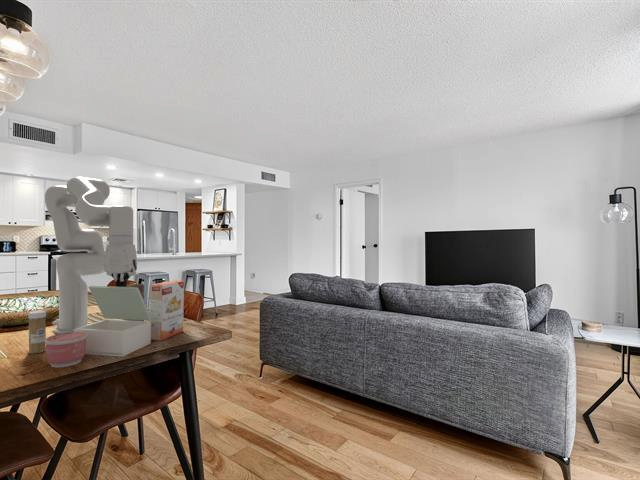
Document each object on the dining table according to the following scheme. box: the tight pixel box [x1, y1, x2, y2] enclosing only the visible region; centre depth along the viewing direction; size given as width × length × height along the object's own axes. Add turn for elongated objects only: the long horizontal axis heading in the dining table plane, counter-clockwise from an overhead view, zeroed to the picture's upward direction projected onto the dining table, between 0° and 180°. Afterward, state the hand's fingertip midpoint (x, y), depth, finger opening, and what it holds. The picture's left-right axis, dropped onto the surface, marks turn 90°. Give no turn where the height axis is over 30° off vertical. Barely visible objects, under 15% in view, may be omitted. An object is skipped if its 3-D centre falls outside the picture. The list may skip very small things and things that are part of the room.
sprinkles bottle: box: [28, 310, 47, 355], centre depth 115 cm, size 5×5×14 cm
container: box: [45, 332, 87, 368], centre depth 105 cm, size 10×10×8 cm
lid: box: [87, 285, 151, 321], centre depth 122 cm, size 19×14×1 cm
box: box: [74, 318, 152, 358], centre depth 119 cm, size 18×14×8 cm
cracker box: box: [148, 280, 185, 342], centre depth 134 cm, size 14×6×21 cm, turn 168°
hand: (121, 292), depth 122 cm, fingers closed
